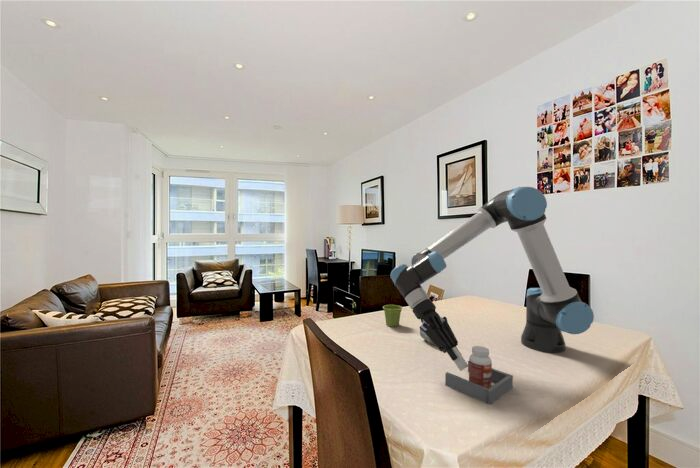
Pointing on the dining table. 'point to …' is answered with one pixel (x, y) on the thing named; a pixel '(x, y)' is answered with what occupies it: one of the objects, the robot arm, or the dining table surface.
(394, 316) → the plant pot
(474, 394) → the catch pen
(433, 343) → the ceramic mug
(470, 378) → the pill bottle
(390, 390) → the dining table surface
